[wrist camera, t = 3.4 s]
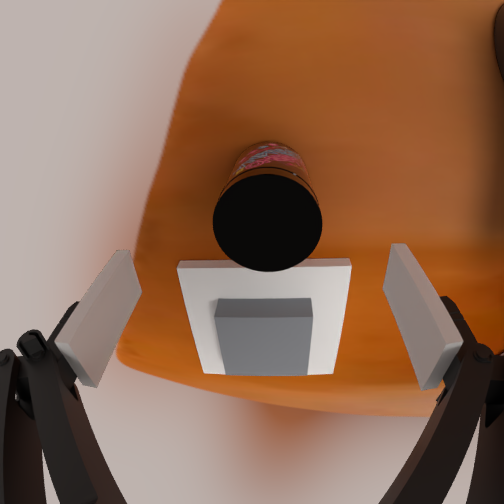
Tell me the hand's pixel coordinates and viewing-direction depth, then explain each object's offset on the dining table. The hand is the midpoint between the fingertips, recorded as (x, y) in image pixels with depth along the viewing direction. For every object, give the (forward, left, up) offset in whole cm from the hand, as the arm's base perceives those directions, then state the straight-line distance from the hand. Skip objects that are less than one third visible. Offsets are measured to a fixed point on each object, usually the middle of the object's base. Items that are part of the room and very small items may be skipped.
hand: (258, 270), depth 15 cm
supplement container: (0, 0, -15) cm, 15 cm away
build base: (+18, -1, -15) cm, 23 cm away
